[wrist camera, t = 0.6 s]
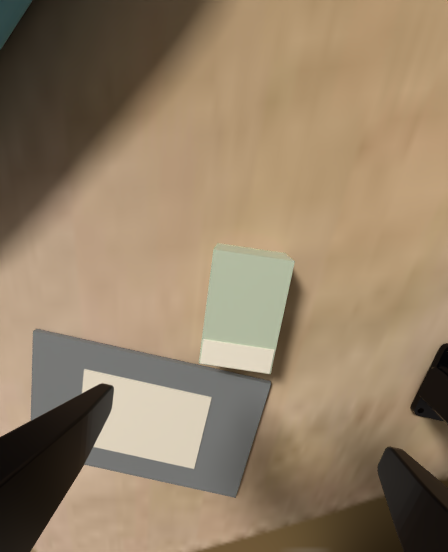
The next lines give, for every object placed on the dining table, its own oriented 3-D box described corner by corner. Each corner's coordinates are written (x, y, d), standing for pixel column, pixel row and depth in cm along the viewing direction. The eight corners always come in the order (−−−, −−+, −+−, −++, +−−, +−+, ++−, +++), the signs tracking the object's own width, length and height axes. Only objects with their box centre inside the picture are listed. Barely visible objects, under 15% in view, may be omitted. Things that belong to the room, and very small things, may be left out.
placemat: (270, 380, 21) (271, 384, 21) (235, 493, 24) (235, 498, 24) (36, 328, 21) (32, 331, 20) (33, 448, 24) (29, 453, 24)
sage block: (284, 252, 19) (295, 261, 15) (264, 347, 21) (270, 375, 17) (217, 242, 19) (213, 249, 15) (204, 338, 21) (198, 364, 17)
